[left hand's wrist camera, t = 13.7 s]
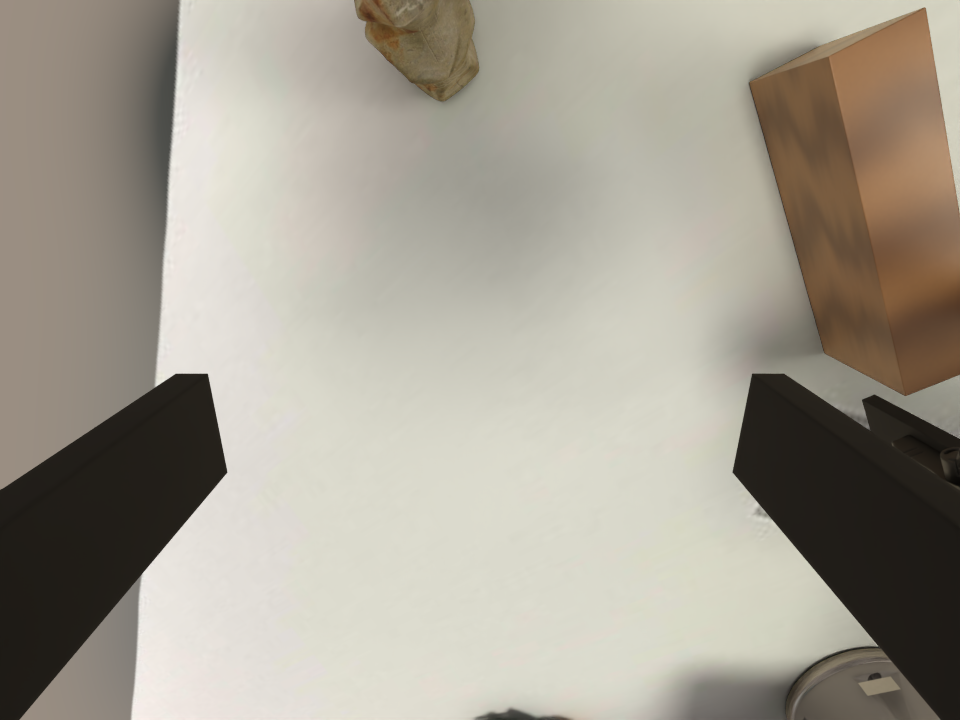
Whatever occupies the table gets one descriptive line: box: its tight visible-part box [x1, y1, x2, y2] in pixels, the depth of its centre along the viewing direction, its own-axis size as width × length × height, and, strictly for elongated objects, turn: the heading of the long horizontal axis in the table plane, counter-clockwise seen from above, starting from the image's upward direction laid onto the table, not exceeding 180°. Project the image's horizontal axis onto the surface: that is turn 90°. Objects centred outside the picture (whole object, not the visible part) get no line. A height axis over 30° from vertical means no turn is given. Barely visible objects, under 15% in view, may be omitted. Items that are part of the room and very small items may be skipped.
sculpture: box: [354, 0, 479, 101], centre depth 28 cm, size 6×7×15 cm
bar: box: [750, 8, 960, 396], centre depth 35 cm, size 23×5×9 cm, turn 26°
